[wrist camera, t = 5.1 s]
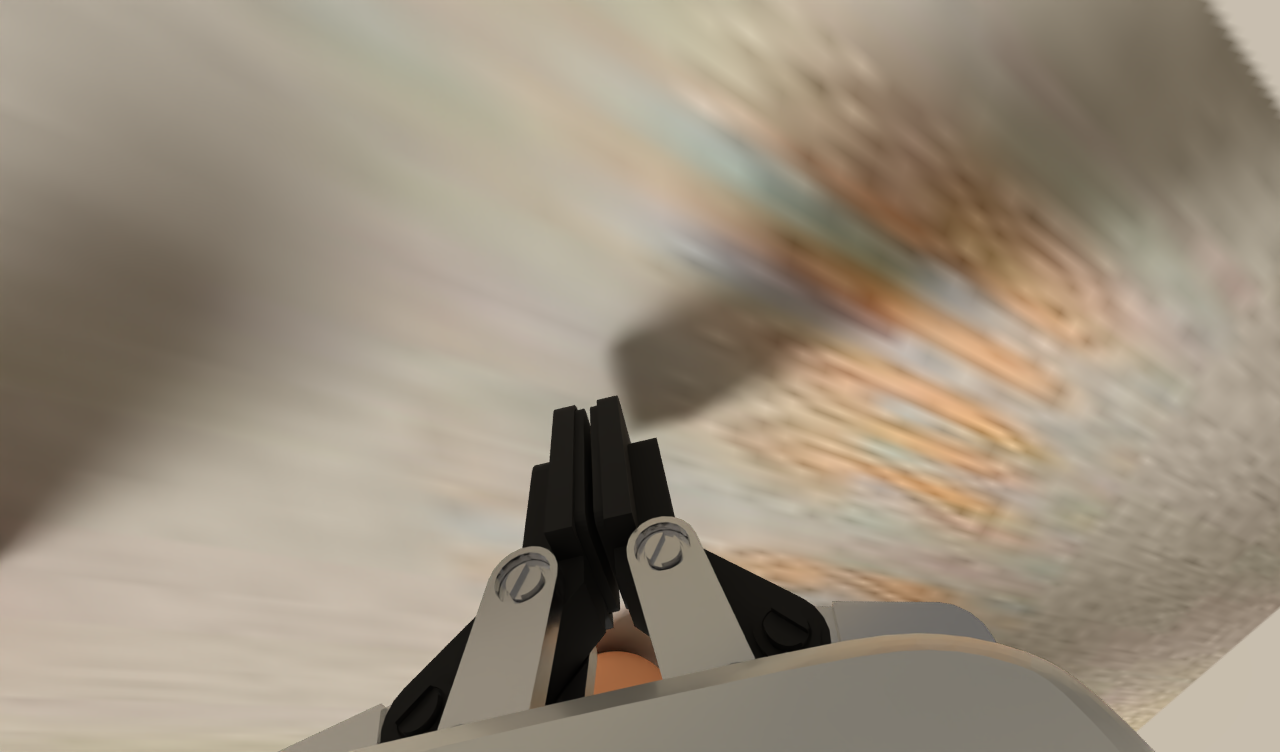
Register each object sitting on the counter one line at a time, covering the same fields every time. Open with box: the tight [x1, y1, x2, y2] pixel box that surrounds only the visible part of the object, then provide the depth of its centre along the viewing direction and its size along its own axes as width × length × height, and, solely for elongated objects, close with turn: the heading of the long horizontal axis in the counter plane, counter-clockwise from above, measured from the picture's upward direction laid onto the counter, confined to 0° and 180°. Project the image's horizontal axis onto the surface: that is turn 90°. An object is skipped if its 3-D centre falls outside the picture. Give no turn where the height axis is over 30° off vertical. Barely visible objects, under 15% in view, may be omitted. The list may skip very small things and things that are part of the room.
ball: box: [594, 651, 663, 695], centre depth 18 cm, size 6×6×6 cm
